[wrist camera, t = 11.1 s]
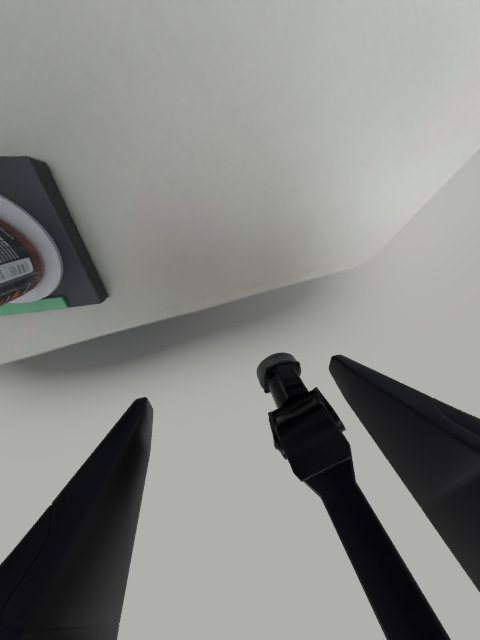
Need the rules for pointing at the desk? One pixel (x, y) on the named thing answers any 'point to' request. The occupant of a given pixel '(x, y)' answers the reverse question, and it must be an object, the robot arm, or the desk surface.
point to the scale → (46, 239)
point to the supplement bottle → (16, 265)
